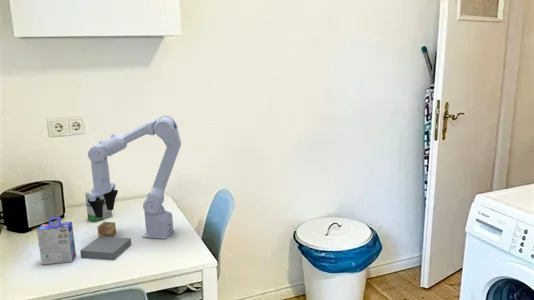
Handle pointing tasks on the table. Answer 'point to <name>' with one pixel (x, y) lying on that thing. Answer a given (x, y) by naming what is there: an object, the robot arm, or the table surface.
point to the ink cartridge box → (56, 242)
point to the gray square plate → (105, 248)
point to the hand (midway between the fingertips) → (105, 213)
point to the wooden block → (107, 229)
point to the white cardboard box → (90, 210)
